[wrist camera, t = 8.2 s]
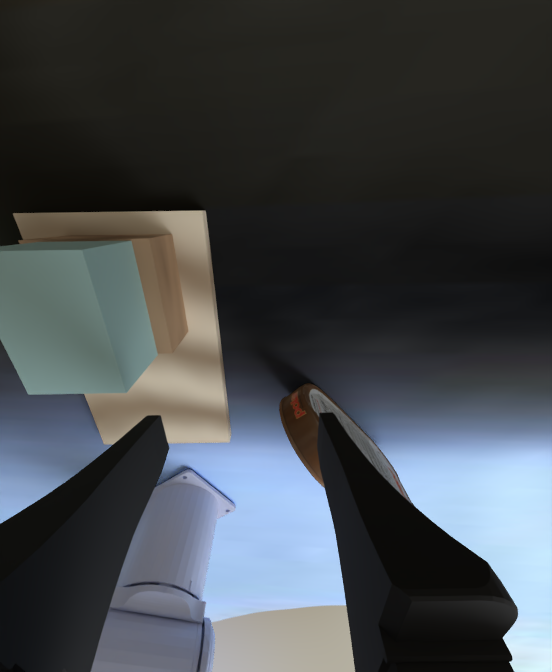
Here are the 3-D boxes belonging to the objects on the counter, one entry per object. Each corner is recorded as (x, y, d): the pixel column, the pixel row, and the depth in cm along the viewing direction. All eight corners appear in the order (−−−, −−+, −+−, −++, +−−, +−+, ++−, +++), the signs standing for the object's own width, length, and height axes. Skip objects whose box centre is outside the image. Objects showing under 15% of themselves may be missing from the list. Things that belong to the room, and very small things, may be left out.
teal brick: (80, 356, 17) (28, 394, 13) (38, 242, 14) (-44, 251, 10) (157, 354, 17) (126, 392, 13) (131, 240, 14) (82, 249, 10)
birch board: (231, 434, 26) (229, 442, 25) (110, 436, 26) (104, 444, 25) (205, 210, 18) (202, 210, 17) (26, 213, 18) (12, 213, 17)
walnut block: (97, 332, 20) (64, 354, 17) (65, 235, 17) (18, 240, 14) (188, 331, 20) (172, 353, 17) (172, 233, 17) (149, 238, 14)
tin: (275, 381, 23) (276, 462, 16) (303, 360, 23) (318, 435, 15) (368, 467, 28) (403, 561, 21) (394, 453, 27) (440, 546, 20)
